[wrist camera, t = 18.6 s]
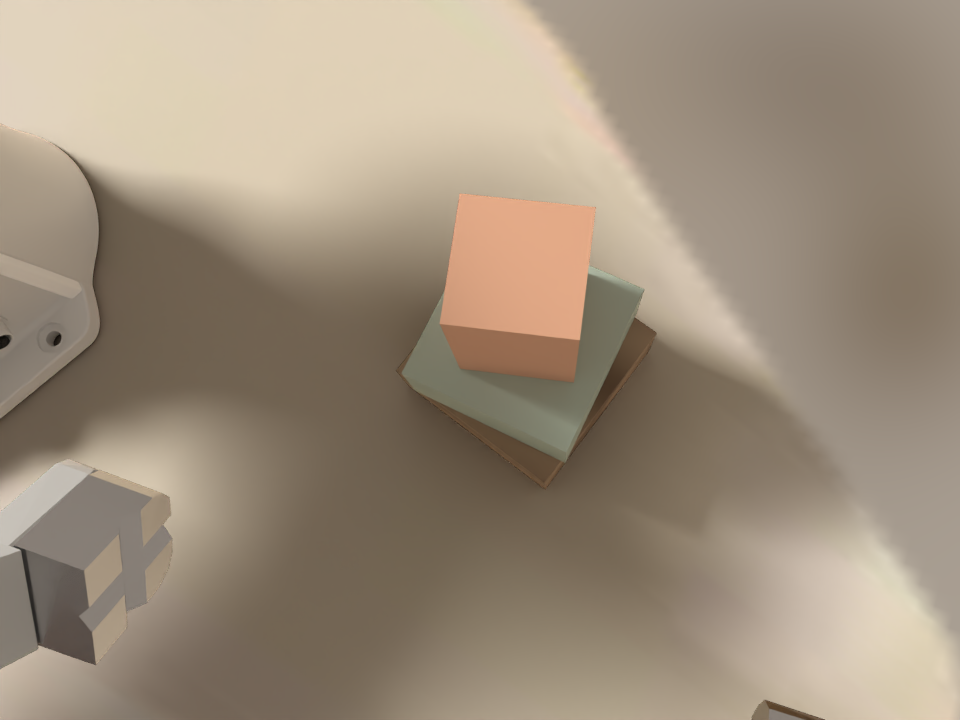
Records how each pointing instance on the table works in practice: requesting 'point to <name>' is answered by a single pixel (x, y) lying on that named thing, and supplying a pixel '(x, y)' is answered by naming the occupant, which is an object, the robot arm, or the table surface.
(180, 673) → the table surface
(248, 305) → the table surface
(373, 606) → the table surface
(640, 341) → the tower base
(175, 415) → the table surface
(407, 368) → the tower top
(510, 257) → the terracotta block
